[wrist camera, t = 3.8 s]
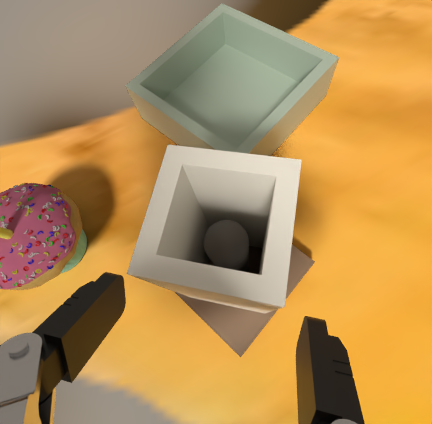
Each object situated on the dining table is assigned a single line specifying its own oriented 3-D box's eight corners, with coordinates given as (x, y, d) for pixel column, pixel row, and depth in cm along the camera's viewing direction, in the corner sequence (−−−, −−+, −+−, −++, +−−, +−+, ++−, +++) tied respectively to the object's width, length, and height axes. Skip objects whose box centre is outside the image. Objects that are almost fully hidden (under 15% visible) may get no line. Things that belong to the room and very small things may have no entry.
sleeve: (190, 297, 21) (127, 274, 10) (206, 227, 23) (167, 144, 12) (264, 313, 20) (284, 307, 9) (274, 239, 22) (301, 159, 11)
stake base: (160, 275, 23) (110, 250, 15) (228, 201, 25) (218, 141, 17) (241, 355, 20) (235, 381, 12) (311, 264, 22) (350, 231, 14)
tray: (142, 118, 30) (125, 86, 26) (225, 43, 33) (221, 3, 29) (239, 189, 25) (237, 164, 21) (325, 95, 28) (339, 57, 24)
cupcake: (124, 238, 25) (24, 174, 14) (56, 317, 23) (-123, 315, 12) (66, 191, 28) (-56, 105, 17) (0, 258, 26) (-188, 211, 15)
